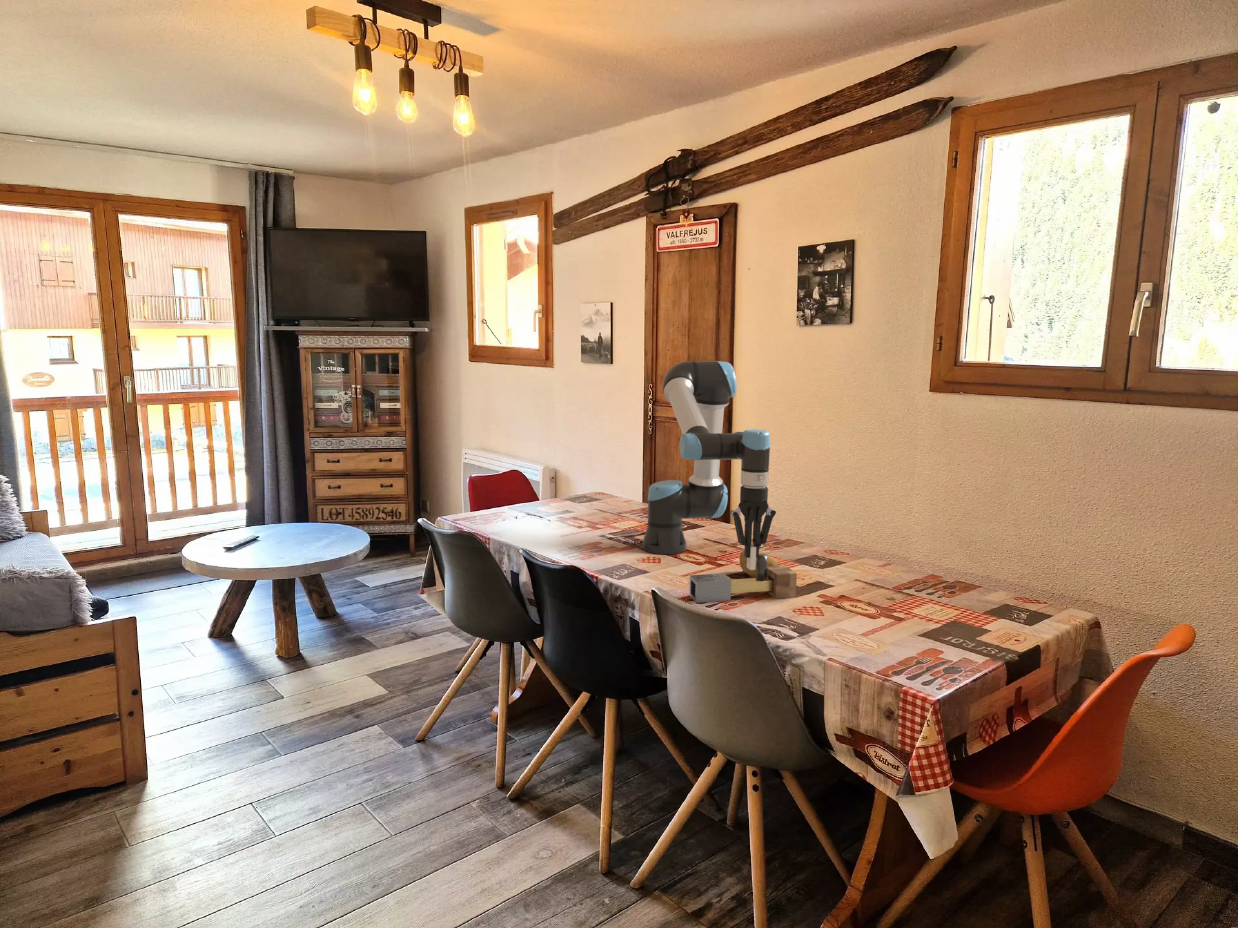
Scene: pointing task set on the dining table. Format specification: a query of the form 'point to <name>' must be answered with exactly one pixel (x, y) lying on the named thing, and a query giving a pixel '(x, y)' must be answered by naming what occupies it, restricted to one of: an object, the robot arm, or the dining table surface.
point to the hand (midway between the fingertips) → (750, 568)
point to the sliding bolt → (755, 579)
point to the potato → (752, 573)
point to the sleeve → (710, 588)
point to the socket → (782, 581)
